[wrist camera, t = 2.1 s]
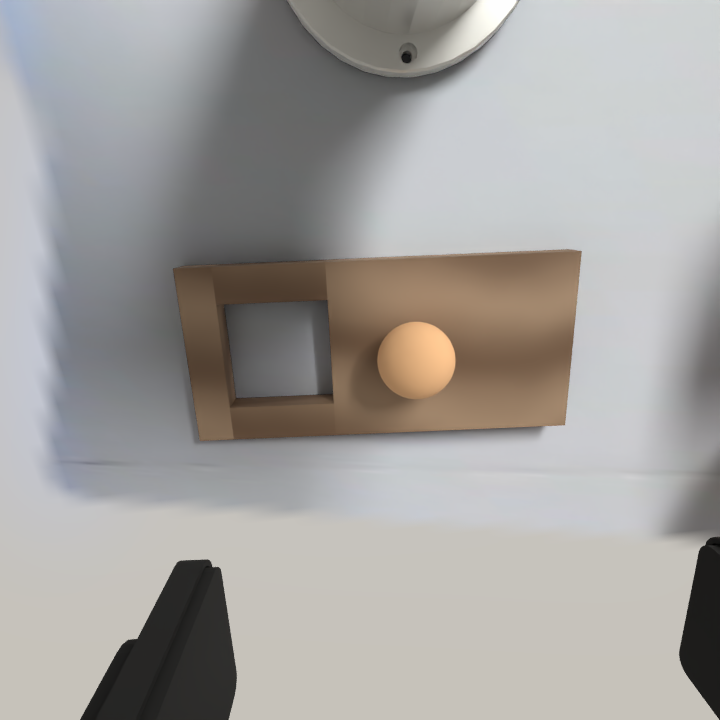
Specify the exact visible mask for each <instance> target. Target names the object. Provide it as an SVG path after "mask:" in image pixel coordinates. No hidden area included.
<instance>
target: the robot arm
mask: <svg viewBox="0 0 720 720" xmlns="http://www.w3.org/2000/svg"><path fill="white" fill-rule="evenodd" d="M287 1H288V3H289V5H290V6H291V8H292V9H293V11H294V13H295V14H296V16H297V17H298V19H299V20H300V22H301V24H302V25H303V26H304V27H305V29H306V30H307V31H308V32H309V33H310V34H311V35H312V36H313V37H314V38H315V40H316V41H317V42H318V43H319V44H320V45H321V46H322V47H324V48H325V49H326V50H328V51H329V52H330V53H332V54H333V55H334V56H336V57H337V58H338V59H340V60H341V61H343V62H345V63H347V64H349V65H351V66H353V67H356V68H358V69H360V70H362V71H364V72H368V73H372V74H377V75H381V76H385V77H417V76H421V75H426V74H431V73H436V72H438V71H441V70H443V69H445V68H448V67H450V66H452V65H455V64H457V63H459V62H461V61H462V60H463V59H465V58H466V57H468V56H469V55H471V54H472V53H474V52H475V51H476V50H478V49H479V48H481V47H482V46H483V45H484V44H485V43H486V42H487V41H488V40H489V39H490V38H491V37H492V36H493V35H494V34H495V33H496V32H497V31H498V30H499V29H500V27H501V26H502V25H503V23H504V22H505V20H506V19H507V18H508V17H509V15H510V14H511V13H512V12H513V10H514V9H515V7H516V6H517V4H518V2H519V1H520V0H287ZM403 54H409V55H410V57H411V62H410V63H404V62H403V61H402V59H401V56H402V55H403ZM679 656H680V661H681V665H682V667H683V669H684V671H685V673H686V675H687V676H688V678H689V679H690V680H691V682H692V683H693V684H694V686H695V687H696V688H697V690H698V691H699V692H700V694H701V695H702V697H703V698H704V699H705V701H706V702H707V703H708V705H709V706H710V708H711V709H712V710H713V711H714V713H715V714H716V715H717V717H718V718H719V720H720V537H713V538H710V539H709V540H708V541H707V542H706V545H705V546H702V547H701V548H700V551H699V554H698V559H697V565H696V569H695V575H694V580H693V585H692V590H691V595H690V600H689V605H688V610H687V615H686V621H685V625H684V630H683V635H682V641H681V646H680V651H679ZM236 679H237V673H236V666H235V659H234V653H233V646H232V639H231V633H230V626H229V620H228V613H227V606H226V601H225V593H224V587H223V580H222V574H221V569H220V568H219V567H212V564H211V562H210V560H186V561H179V562H177V564H176V566H175V567H174V569H173V571H172V573H171V575H170V577H169V579H168V581H167V583H166V585H165V587H164V588H163V590H162V592H161V594H160V596H159V598H158V600H157V602H156V604H155V606H154V608H153V610H152V612H151V613H150V615H149V618H148V619H147V621H146V623H145V625H144V627H143V629H142V631H141V633H140V635H139V637H138V639H132V640H128V641H126V642H125V643H124V644H123V645H122V646H121V648H120V649H119V650H118V652H117V653H116V655H115V657H114V659H113V661H112V663H111V664H110V666H109V668H108V670H107V672H106V673H105V675H104V677H103V679H102V681H101V683H100V684H99V686H98V688H97V690H96V692H95V694H94V696H93V697H92V699H91V701H90V703H89V705H88V706H87V708H86V710H85V712H84V714H83V716H82V717H81V719H80V720H228V719H229V716H230V712H231V708H232V704H233V699H234V696H235V690H236V681H237V680H236Z"/></svg>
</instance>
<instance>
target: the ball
mask: <svg viewBox="0 0 720 720" xmlns="http://www.w3.org/2000/svg"><path fill="white" fill-rule="evenodd" d="M455 362H456V361H455V352H454V348H453V346H452V344H451V342H450V340H449V338H448V337H447V336H446V335H445V334H444V333H443V332H442V331H441V330H440V329H439V328H437V327H435V326H433V325H431V324H428V323H424V322H409V323H405V324H402V325H400V326H398V327H396V328H394V329H393V330H392V331H391V332H389V333H388V335H387V336H386V337H385V338H384V340H383V341H382V343H381V345H380V348H379V351H378V358H377V364H378V370H379V373H380V376H381V378H382V380H383V381H384V383H385V384H386V386H387V387H388V388H389V389H390V390H392V391H393V392H394V393H396V394H398V395H399V396H402V397H405V398H408V399H425V398H428V397H431V396H433V395H435V394H437V393H439V392H440V391H441V390H442V389H444V388H445V386H446V385H447V384H448V383H449V381H450V379H451V378H452V376H453V373H454V369H455Z"/></svg>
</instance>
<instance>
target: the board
mask: <svg viewBox="0 0 720 720" xmlns="http://www.w3.org/2000/svg"><path fill="white" fill-rule="evenodd" d="M581 252H582V251H576V250H570V249H566V250H543V251H520V252H496V253H473V254H450V255H426V256H403V257H380V258H356V259H333V260H309V261H286V262H263V263H239V264H216V265H193V266H181V267H177V268H174V269H173V271H174V278H175V284H176V291H177V297H178V304H179V310H180V316H181V323H182V329H183V336H184V342H185V348H186V355H187V361H188V368H189V374H190V381H191V387H192V393H193V400H194V406H195V413H196V419H197V425H198V432H199V438H200V441H209V440H232V439H255V438H278V437H302V436H325V435H348V434H371V433H394V432H418V431H441V430H464V429H487V428H510V427H533V426H557V425H565V419H566V409H567V398H568V388H569V377H570V367H571V356H572V346H573V336H574V325H575V315H576V304H577V294H578V283H579V273H580V262H581ZM316 300H328V317H329V333H330V349H331V365H332V382H333V394H324V395H301V396H278V397H255V398H236V394H235V387H234V379H233V371H232V363H231V355H230V347H229V339H228V332H227V324H226V316H225V308H224V304H246V303H269V302H293V301H316ZM409 322H424V323H428V324H431V325H433V326H435V327H437V328H439V329H440V330H441V331H442V332H443V333H444V334H445V335H446V336H447V337H448V338H449V340H450V342H451V344H452V346H453V348H454V352H455V361H456V362H455V369H454V373H453V376H452V378H451V379H450V381H449V383H448V384H447V385H446V386H445V388H444V389H442V390H441V391H440V392H439V393H437V394H435V395H433V396H431V397H428V398H425V399H408V398H405V397H402V396H399V395H398V394H396V393H394V392H393V391H392V390H390V389H389V388H388V387H387V386H386V384H385V383H384V381H383V380H382V378H381V376H380V373H379V370H378V364H377V358H378V351H379V348H380V345H381V343H382V341H383V340H384V338H385V337H386V336H387V335H388V333H389V332H391V331H392V330H393V329H394V328H396V327H398V326H400V325H402V324H405V323H409Z"/></svg>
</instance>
